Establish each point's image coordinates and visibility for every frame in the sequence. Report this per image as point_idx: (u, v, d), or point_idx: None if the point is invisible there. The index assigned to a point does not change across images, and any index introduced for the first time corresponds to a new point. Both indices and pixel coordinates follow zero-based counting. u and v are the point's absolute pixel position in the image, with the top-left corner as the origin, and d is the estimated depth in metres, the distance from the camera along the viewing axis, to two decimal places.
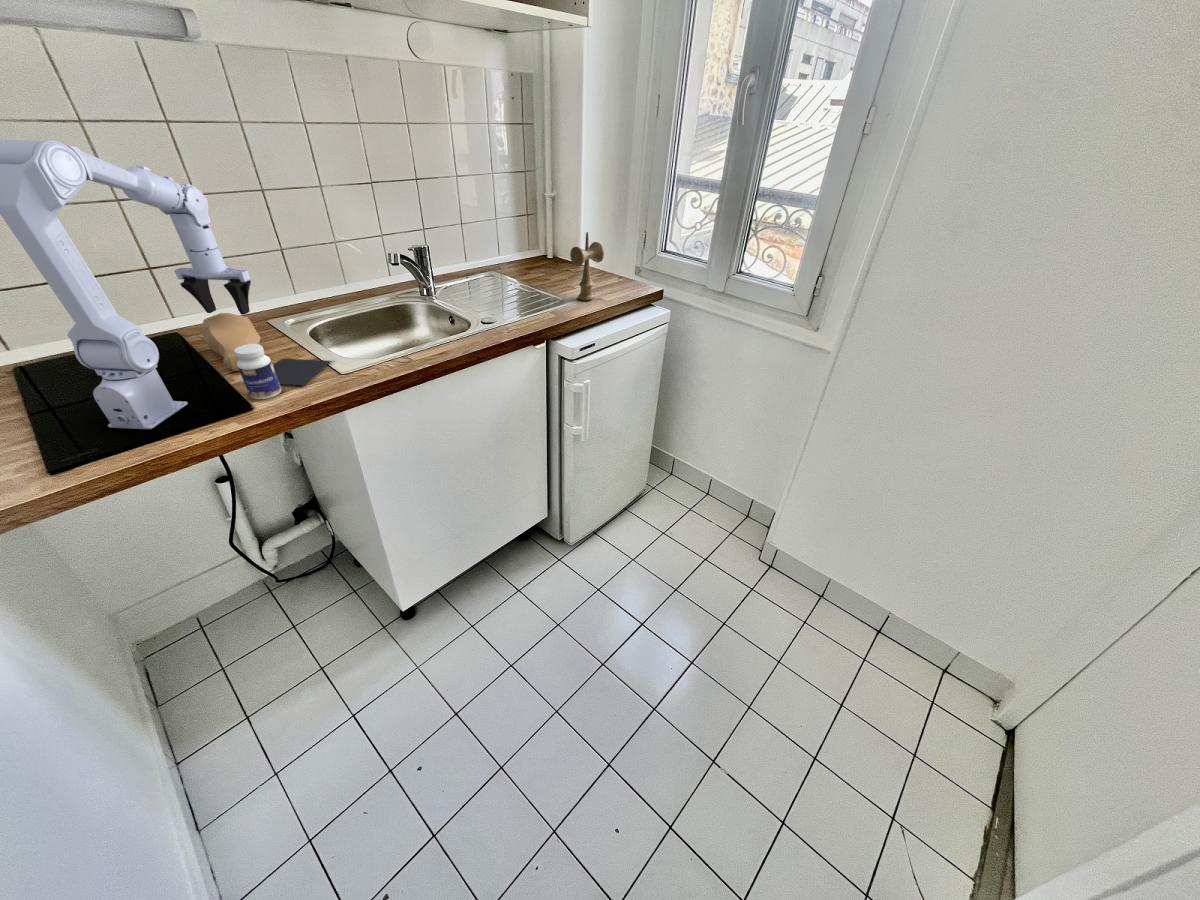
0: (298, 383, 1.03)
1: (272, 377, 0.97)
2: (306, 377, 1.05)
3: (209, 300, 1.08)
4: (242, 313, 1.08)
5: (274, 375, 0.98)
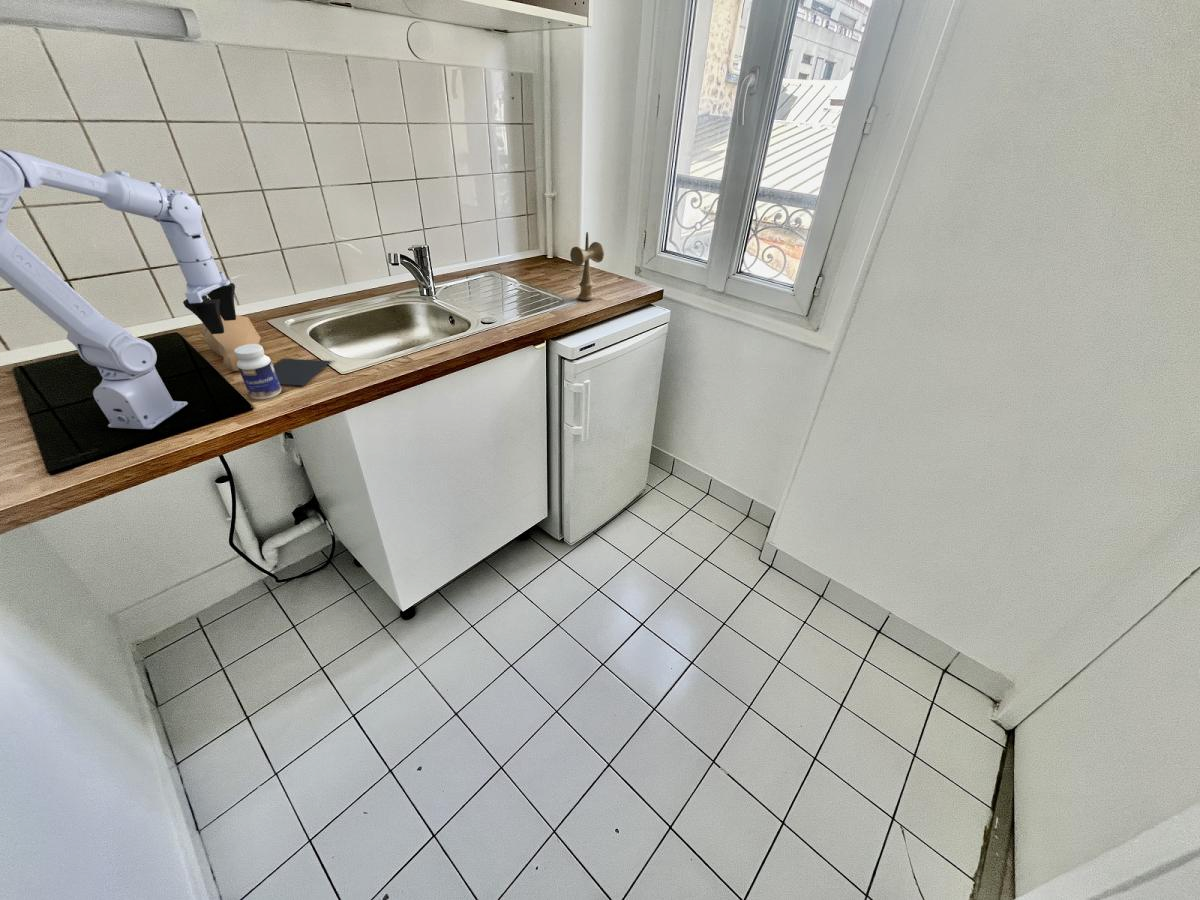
0: (298, 383, 1.03)
1: (272, 377, 0.97)
2: (306, 377, 1.05)
3: (227, 309, 1.03)
4: None
5: (274, 375, 0.98)
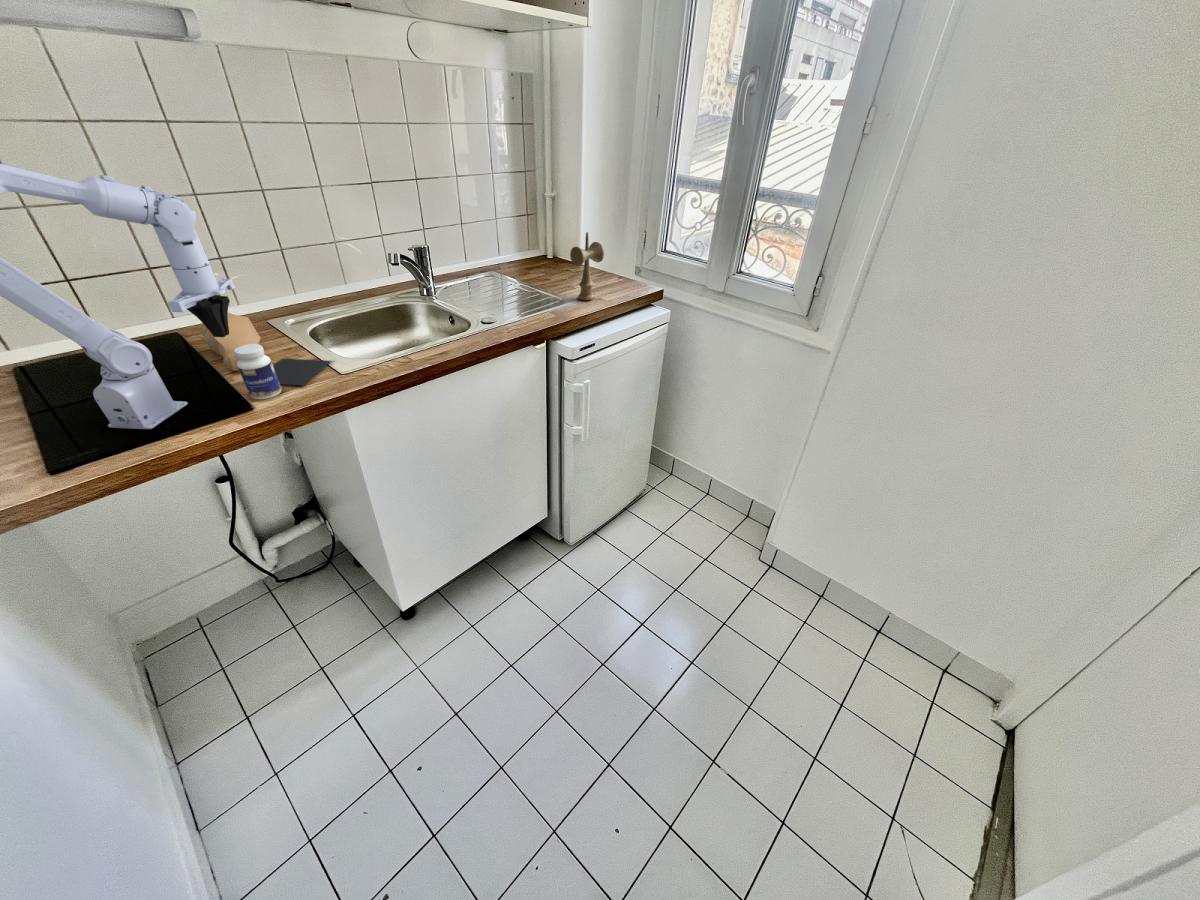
0: (298, 383, 1.03)
1: (272, 377, 0.97)
2: (306, 377, 1.05)
3: None
4: None
5: (274, 375, 0.98)
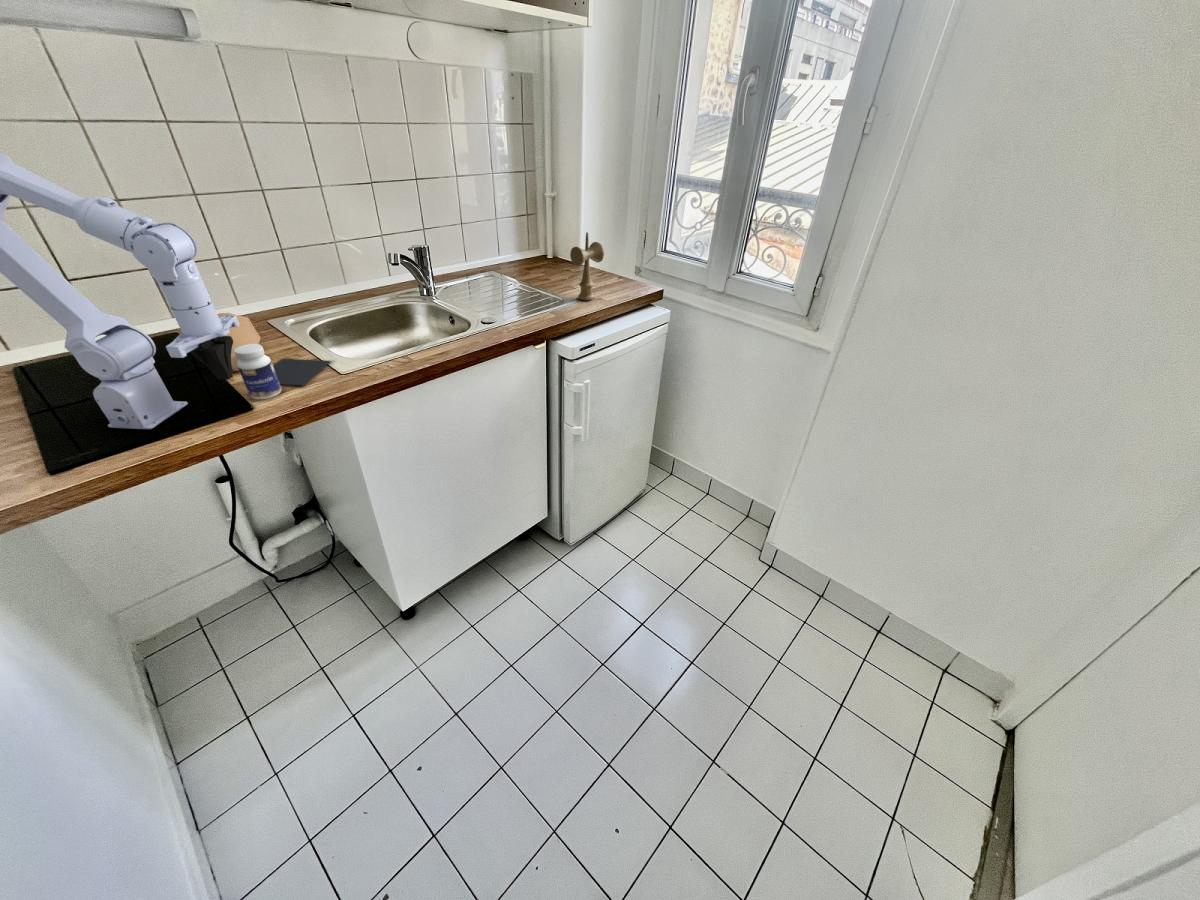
0: (298, 383, 1.03)
1: (272, 377, 0.97)
2: (306, 377, 1.05)
3: None
4: None
5: (274, 375, 0.98)
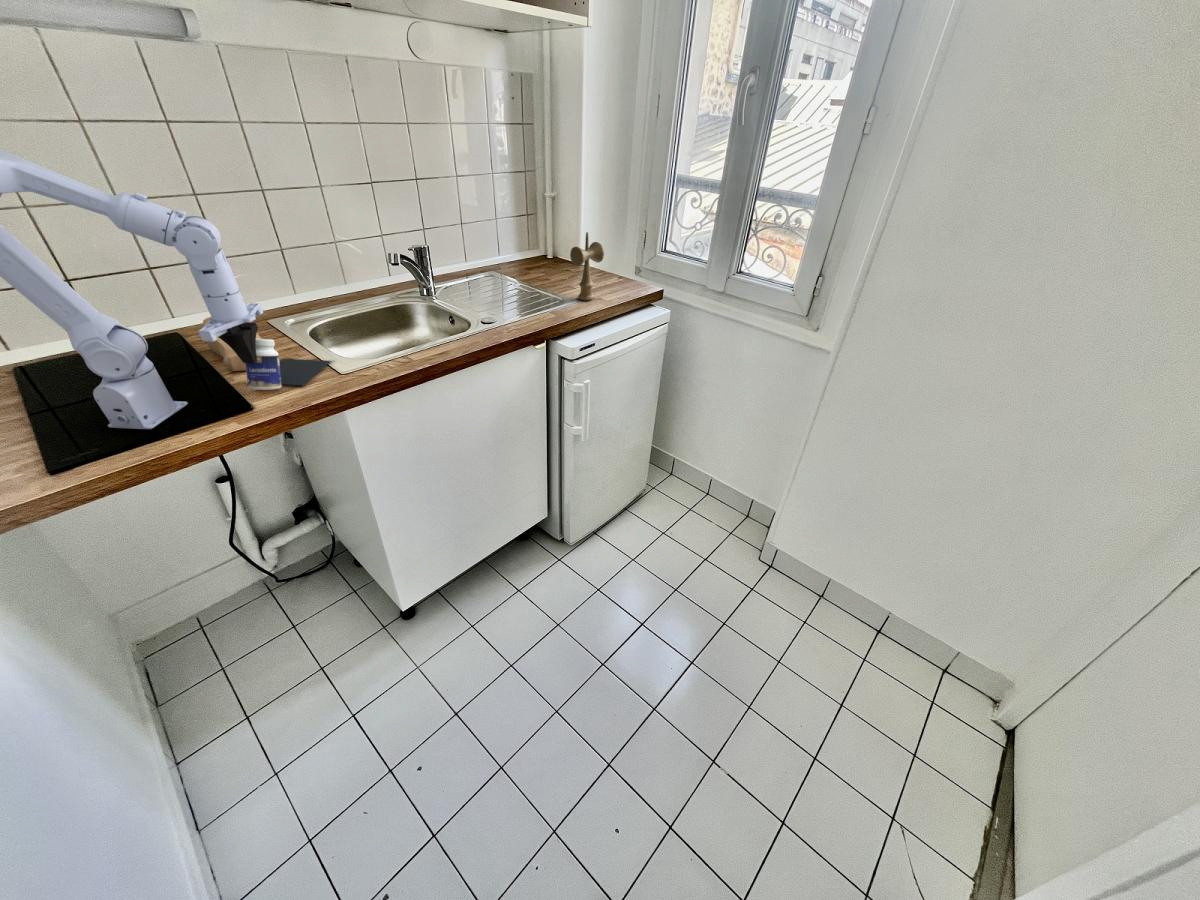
0: (298, 383, 1.03)
1: (275, 369, 0.98)
2: (306, 377, 1.05)
3: None
4: None
5: (278, 369, 0.99)
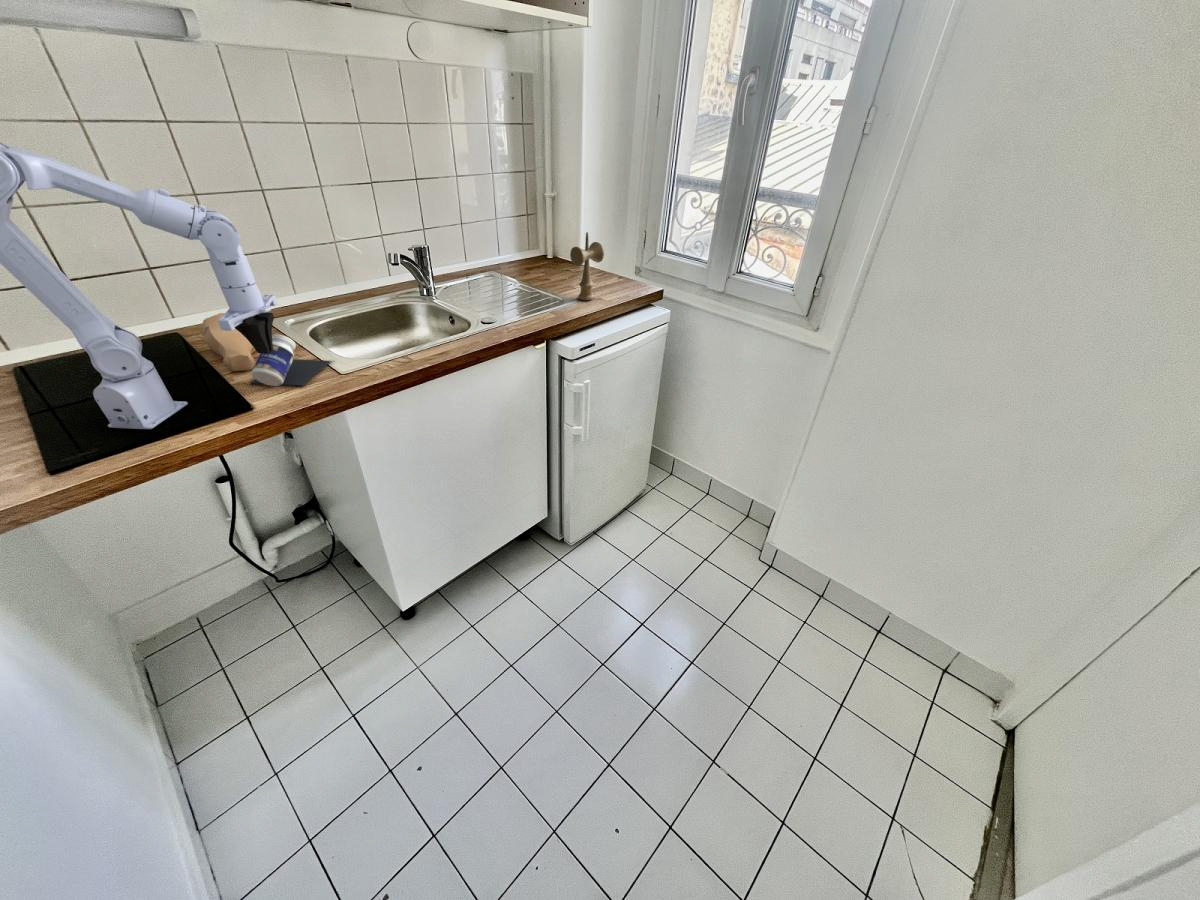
0: (298, 383, 1.03)
1: (286, 363, 1.01)
2: (306, 377, 1.05)
3: None
4: None
5: (288, 365, 1.02)
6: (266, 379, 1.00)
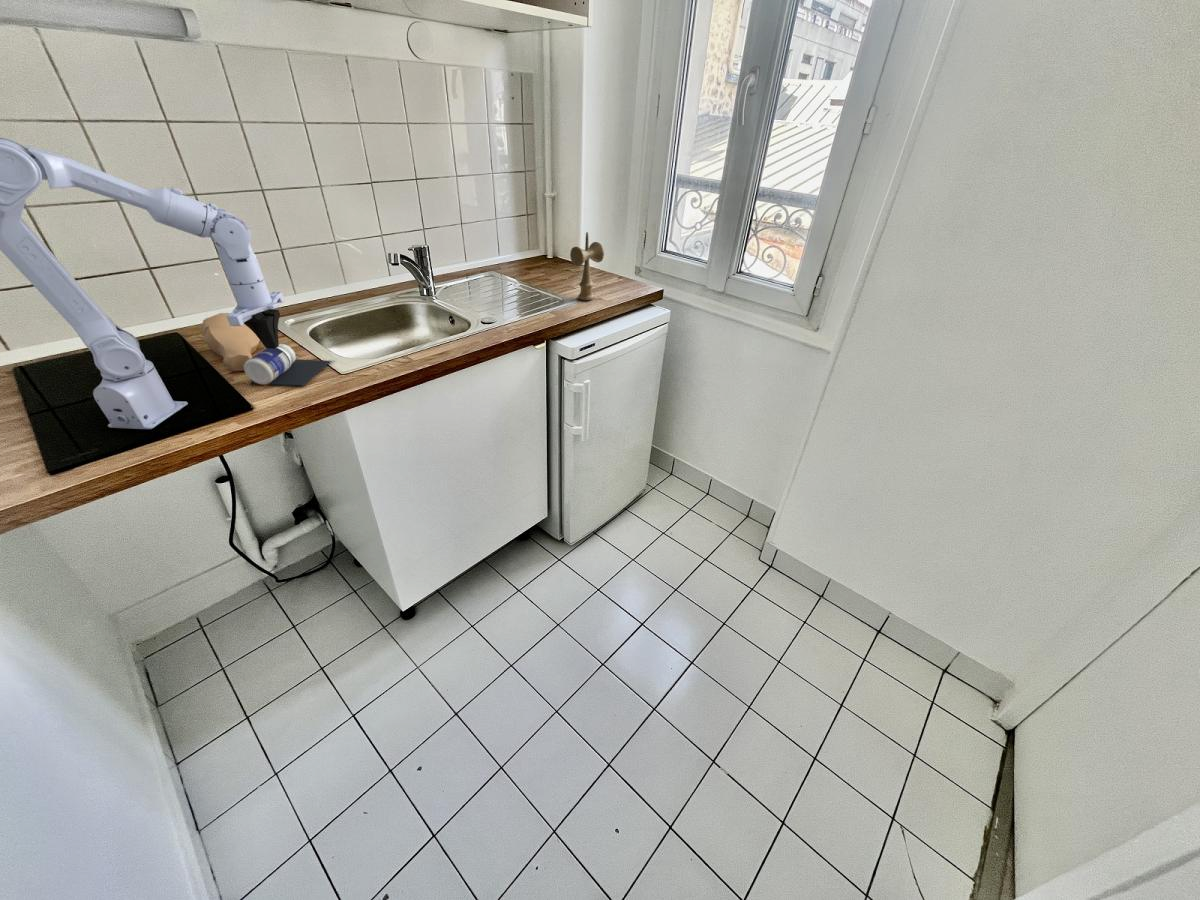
0: (298, 383, 1.03)
1: (272, 354, 1.02)
2: (306, 377, 1.05)
3: None
4: None
5: (276, 357, 1.02)
6: (258, 374, 1.00)
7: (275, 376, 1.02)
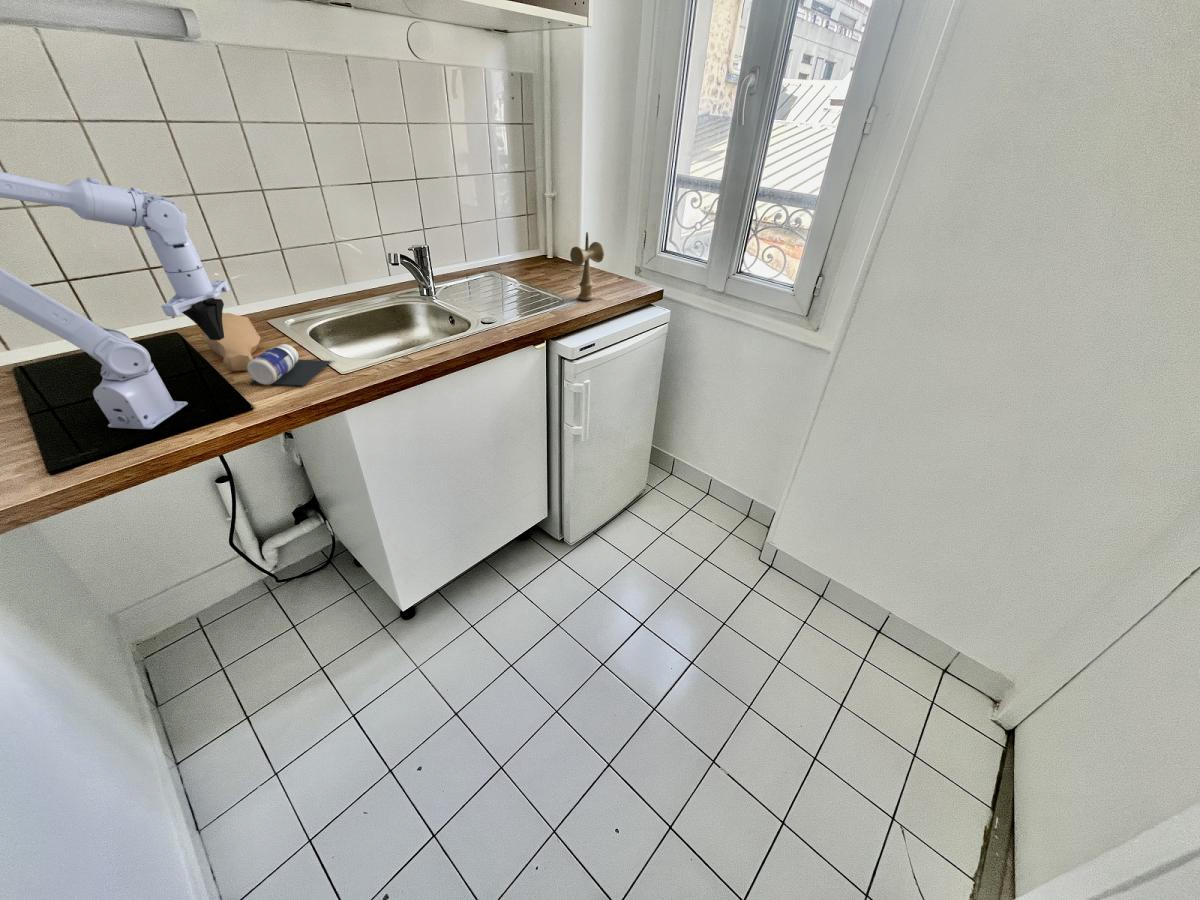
0: (298, 383, 1.03)
1: (278, 357, 1.02)
2: (306, 377, 1.05)
3: None
4: None
5: (282, 360, 1.02)
6: (261, 375, 1.00)
7: (277, 378, 1.02)
